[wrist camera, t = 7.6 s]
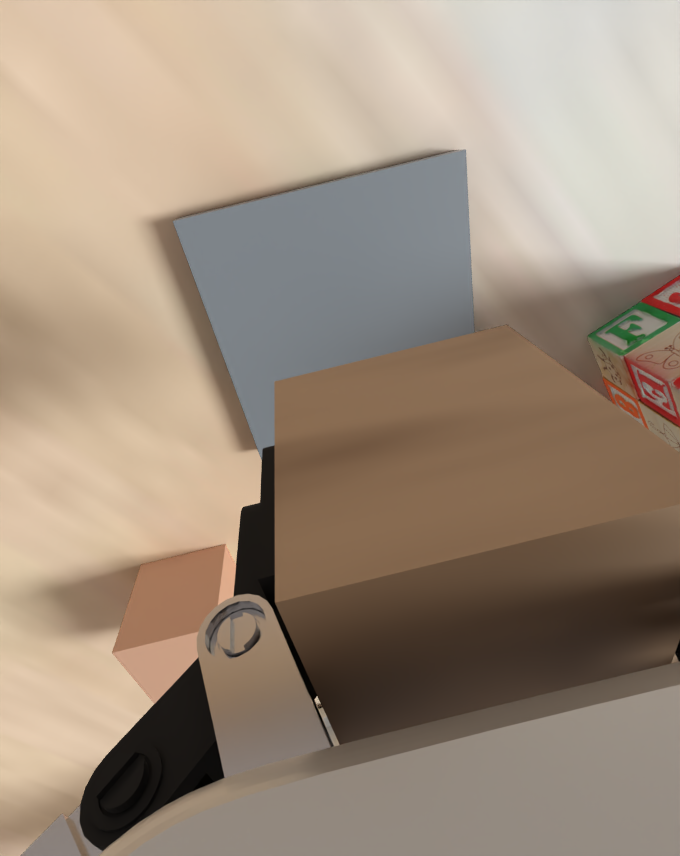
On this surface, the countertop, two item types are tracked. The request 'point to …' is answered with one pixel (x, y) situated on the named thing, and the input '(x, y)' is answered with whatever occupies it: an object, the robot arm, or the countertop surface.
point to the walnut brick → (468, 532)
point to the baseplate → (333, 274)
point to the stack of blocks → (645, 361)
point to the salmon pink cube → (171, 615)
